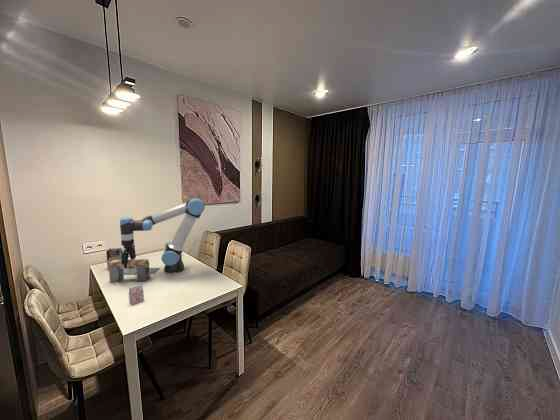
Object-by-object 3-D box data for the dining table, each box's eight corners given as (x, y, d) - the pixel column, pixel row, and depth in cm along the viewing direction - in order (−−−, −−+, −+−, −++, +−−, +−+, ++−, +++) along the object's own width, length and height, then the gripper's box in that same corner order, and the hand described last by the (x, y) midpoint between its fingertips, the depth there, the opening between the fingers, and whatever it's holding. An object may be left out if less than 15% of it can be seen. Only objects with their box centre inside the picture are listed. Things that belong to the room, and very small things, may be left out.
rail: (148, 265, 167) (148, 259, 167) (145, 268, 163) (145, 261, 162) (113, 266, 164) (113, 259, 164) (109, 269, 159) (108, 262, 159)
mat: (159, 268, 188) (159, 267, 187) (153, 273, 177) (153, 273, 177) (120, 269, 183) (120, 268, 183) (112, 275, 173) (112, 274, 173)
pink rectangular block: (129, 302, 136) (128, 287, 135) (141, 298, 142) (140, 283, 140) (131, 305, 134) (130, 289, 133) (144, 300, 139) (143, 285, 138)
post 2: (150, 277, 170) (149, 262, 168) (145, 282, 163) (144, 265, 161) (141, 278, 169) (140, 262, 167) (136, 282, 162) (135, 266, 160)
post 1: (124, 278, 168) (123, 262, 166) (118, 283, 160) (117, 266, 159) (115, 278, 167) (114, 262, 165) (109, 283, 160) (108, 266, 158)
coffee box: (107, 270, 181) (105, 251, 179) (110, 267, 187) (108, 248, 185) (120, 269, 184) (119, 250, 181) (123, 266, 190) (121, 247, 187)
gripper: (129, 235, 170) (131, 264, 173) (113, 243, 150) (115, 276, 153) (140, 235, 171) (141, 264, 174) (125, 243, 151) (127, 275, 154)
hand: (129, 269), depth 164 cm, fingers open, 8 cm apart
